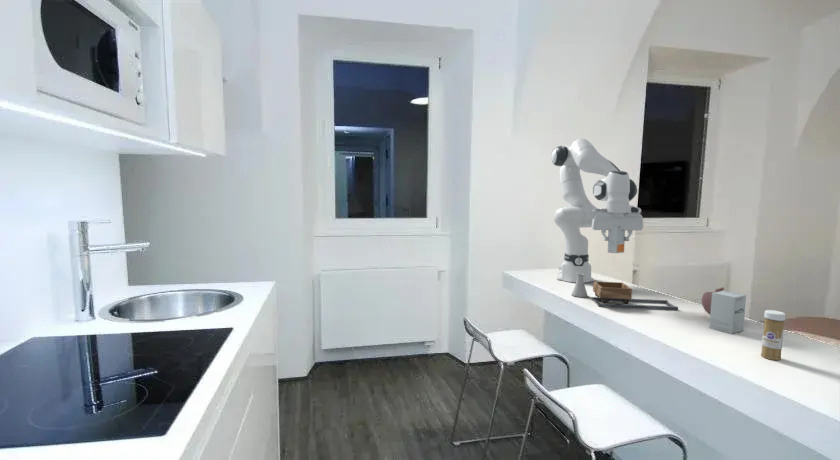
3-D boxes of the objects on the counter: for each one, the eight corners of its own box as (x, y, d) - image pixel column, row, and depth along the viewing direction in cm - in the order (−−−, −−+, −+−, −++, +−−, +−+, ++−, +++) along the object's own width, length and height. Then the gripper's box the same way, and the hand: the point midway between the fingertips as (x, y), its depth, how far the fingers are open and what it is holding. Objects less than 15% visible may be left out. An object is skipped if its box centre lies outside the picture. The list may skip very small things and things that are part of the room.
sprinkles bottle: (760, 358, 120) (764, 312, 119) (761, 353, 124) (764, 308, 122) (781, 362, 117) (785, 315, 116) (781, 357, 121) (785, 311, 119)
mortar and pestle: (741, 318, 158) (744, 288, 157) (737, 325, 149) (740, 293, 148) (703, 311, 166) (705, 283, 165) (697, 318, 158) (699, 288, 156)
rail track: (592, 299, 183) (592, 297, 183) (666, 302, 179) (666, 300, 179) (598, 306, 172) (599, 303, 172) (678, 310, 168) (678, 307, 168)
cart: (592, 296, 184) (593, 281, 183) (621, 297, 182) (622, 282, 181) (600, 303, 172) (600, 287, 171) (631, 304, 170) (632, 289, 169)
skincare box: (616, 253, 179) (617, 225, 178) (607, 252, 182) (608, 225, 181) (624, 252, 182) (625, 225, 181) (615, 251, 185) (616, 224, 185)
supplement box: (732, 334, 140) (735, 297, 139) (708, 328, 146) (711, 292, 145) (744, 331, 143) (747, 294, 142) (720, 324, 150) (722, 290, 149)
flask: (585, 294, 194) (586, 272, 193) (590, 298, 186) (591, 275, 185) (569, 293, 194) (570, 272, 193) (573, 297, 187) (574, 275, 186)
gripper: (593, 208, 179) (592, 241, 180) (645, 209, 176) (643, 241, 177) (590, 208, 185) (589, 239, 186) (639, 208, 182) (638, 240, 183)
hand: (616, 240), depth 182 cm, fingers closed on skincare box, 7 cm apart
